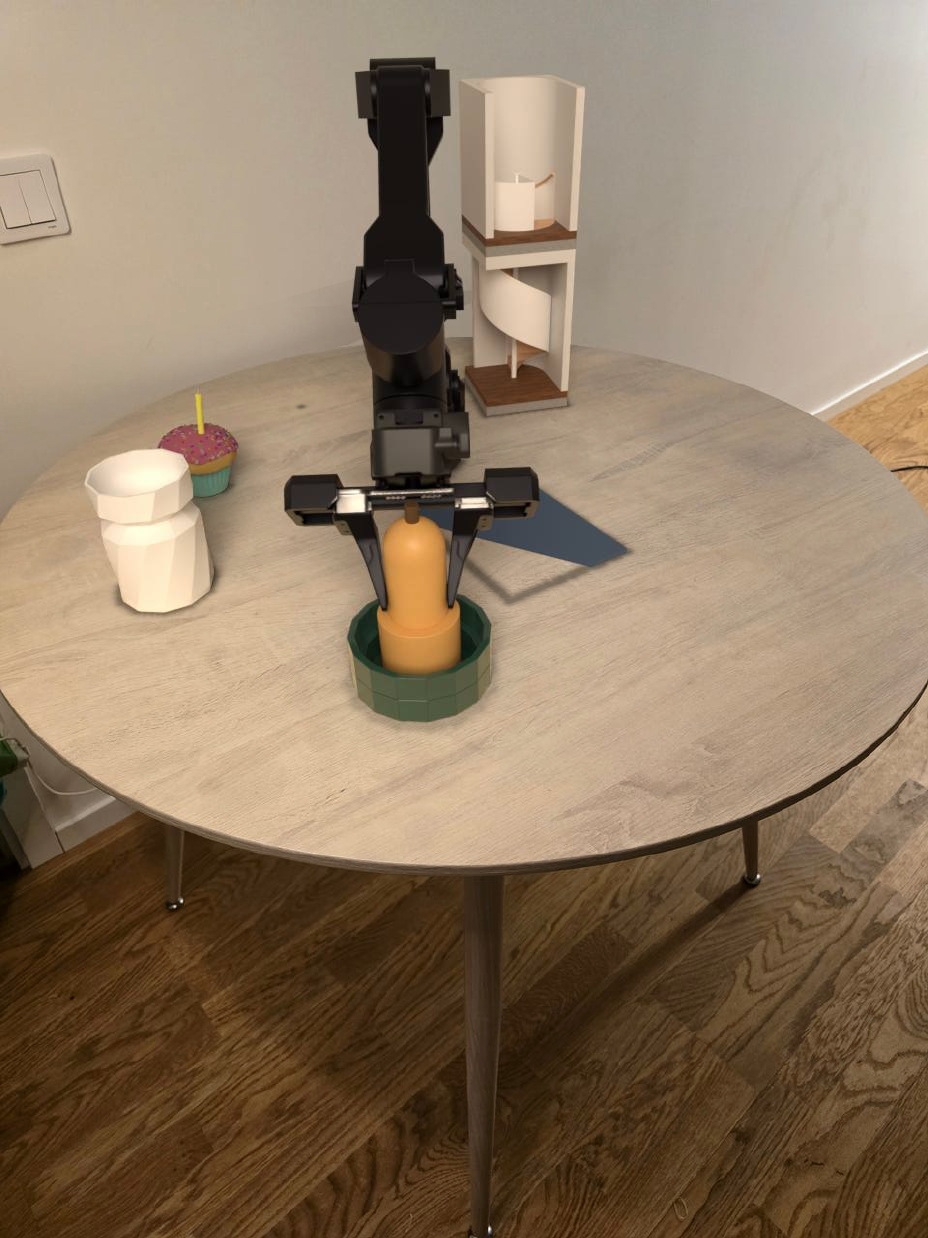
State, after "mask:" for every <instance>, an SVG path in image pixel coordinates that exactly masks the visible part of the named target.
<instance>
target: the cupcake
mask: <svg viewBox="0 0 928 1238" xmlns="http://www.w3.org/2000/svg"><path fill="white" fill-rule="evenodd" d="M200 389H201V387H200V386H198V387H197V392H196V393H195V394H194V398H195V411H196V423H189V424H188V425H187V424H182V425H179V426H177V427H174V428H173V429H170V431H169V432H167V433H166V434H165V435H163V436H162V437H161V440H160V441H159V442H158V443H157V446H156V447H157V448H156V449H165V450H169V451H172V452H175V453H179V454H182V455H183V456H184V458H185V460H186V462H187V464H188V465H189V469H190V476H191V480H192V483H193V497H194V498H195V497H196V498H208V497H212V496H213V497H214V496H217V495H219V494H221V493H222V492H224V491H226V489H227V488H228V487H229V484H230V483H229V482H230V475H231V468H232V464H233V462H234V461H235V460H236V459H237V456H238V449H239V442H238V440H237V439H235V437H234V436H233V434H232V433H231V432H230V431H228V429H225V428H224V427H222V426H220V425H219V424H213V423H211V422H205V419H204V418H205V417H204V408H203V407H204V406H203V405H204V404H203V396H202V395H203V394H202V393H201V391H200Z"/></svg>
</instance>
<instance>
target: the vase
mask: <svg viewBox="0 0 928 1238" xmlns="http://www.w3.org/2000/svg"><path fill="white" fill-rule="evenodd" d="M83 485H84V489H85V491H86V494H87V496H88V499H89V501H90V503H91V505H92V507H93V509H94V511H95V513H96V515H97V517H98V518H100V519H102V520H101V521H100V531H101V539H102V542H103V546H104V549H105V553H106V556H107V558H108V561H109V564H110V566H111V568H112V570H113V572H114V574H115V576H116V579H117V583H118V587H119V591H120V596H121V599H122V602H123V603H125V604H126V605H127V606H129V607H131V608H133V609H135V610H136V611H137V612H145V613H146V612H147V613H167V612H170V611H175V610H177V609H181V608H184V607H187V606H192V605H193V604H194V603H195V602H197V601H198V600H199V599H201V598H202V597H203V596H205V595H206V594H207V593H209V592H210V591H211V587H212V584H213V580H214V577H215V567H214V564H213V560H212V556H211V553H210V548H209V546H208V543H207V538H206V533H205V527H204V522H203V517H202V512H201V509H200V508H199V507H198V506H197V504H196V503H194V502H193V500H192V499H193V498H194V496H193V483H192V480H191V476H190V469H189V465H188V464H187V462H186V460H185V458H184V456H183V455H182V454H179V453H175V452H172V451H169V450H165V449H157V448H143V449H132V450H129V451H126V452H125V451H124V452H122V453H119V454H115V455H111V456H108V457H106V458H104V459H103V460H102V461H100V462H98V463H97V464H96V465H94V466H93V467H91V468H90V469H88V470H87V473H86V477H85V481H84V483H83Z"/></svg>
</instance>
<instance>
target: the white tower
mask: <svg viewBox="0 0 928 1238" xmlns="http://www.w3.org/2000/svg"><path fill="white" fill-rule="evenodd" d="M585 96H586V87H585V86H582V85H579V84H578V83H574V82H572V81H569V80H567V79H564V78H561V77H559V76H556V75H553V74H551V73H549V74H532V75H531V74H529V75H514V76H513V75H511V76H496V77H480V78H479V77H477V78H461V79H458V105H459V106H458V109H459V110H458V111H459V114H458V115H459V156H460V157H459V158H460V202H461V203H460V204H461V242H462V243H461V244H462V245H463V246H464V247H465V248H466V249H467V250H468V252H469V253H470V254H471V307H472V308H471V311H472V314H471V319H472V364H471V365H464V381H465V384H467V386H468V388H469V390H470V391H471V393H472V395H473V396H474V398H475V399H476V401H477V402H478V405H479V406H480V407H481V409H482V411H483V413H484V414H485V416H486V417H490V416H498V415H499V416H500V415H505V414H506V415H507V414H514V413H520V412H521V413H522V412H529V411H530V412H531V411H537V410H538V411H539V410H544V409H554V408H559V407H567V406H568V396H569V394H568V393H569V376H570V361H571V360H570V359H571V358H570V357H571V343H572V342H571V341H572V326H573V325H572V324H573V307H574V291H575V290H574V289H575V272H576V270H575V269H576V256H577V255H576V253H577V237H578V220H579V201H580V186H581V184H580V183H581V169H582V168H581V167H582V166H581V165H582V150H583V149H582V148H583V133H584V113H585V99H586V97H585Z"/></svg>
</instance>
